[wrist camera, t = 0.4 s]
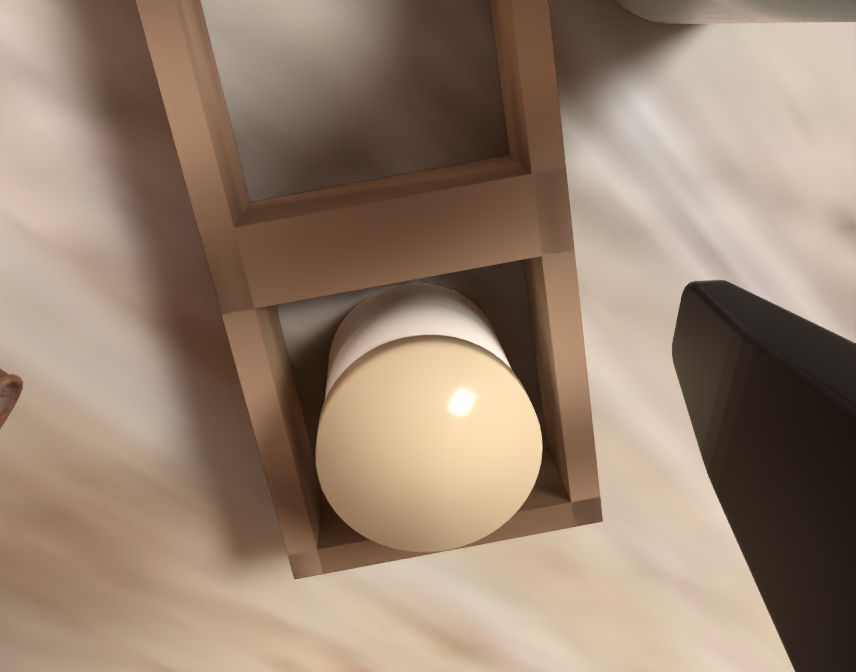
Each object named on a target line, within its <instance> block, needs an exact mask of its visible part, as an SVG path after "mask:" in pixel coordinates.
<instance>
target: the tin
mask: <svg viewBox="0 0 856 672" xmlns="http://www.w3.org/2000/svg"><path fill="white" fill-rule="evenodd" d="M22 389H23V381H22V379H21V378H20V377H18V376H17V375H13V374H11V375H9V374H8V373H6V372H4V371H3V370H1V369H0V429H1V427H2V425H3V424H4V422H5V421H6V420H7V417H8V416H9V414H10V412H11V411H12V409H13V407H14V406H15V404H16V402H17V400H18V398H19V396H20V394H21V391H22Z"/></svg>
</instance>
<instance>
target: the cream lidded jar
mask: <svg viewBox="0 0 856 672" xmlns="http://www.w3.org/2000/svg"><path fill="white" fill-rule="evenodd" d="M541 459H542V434H541V430H540V425H539V421H538V418H537V416H536V413H535V410H534V408H533V406H532V404H531V401H530V399H529V397H528V395H527V393H526V391H525V389H524V387H523V385H522V383H521V382H520V380H519V379H518V377H517V376H516V375H515V373H514V372H513V371H512V369H511V367H510V365H509V362H508V360H507V358H506V356H505V353H504V351H503V349H502V347H501V344H500V342H499V340H498V338H497V335H496V333H495V331H494V329H493V327H492V325H491V323H490V321H489V320H488V319H487V317H486V316H485V314H484V313H483V312H482V311H481V310H480V309H479V308H478V307H477V306H476V305H475V304H474V303H473V302H471V301H470V300H469V299H468V298H466V297H465V296H463V295H461V294H459V293H458V292H456V291H453V290H451V289H448V288H446V287H442V286H438V285H434V284H426V283H408V284H400V285H396V286H392V287H388V288H385V289H383V290H380V291H378V292H376V293H374V294H372V295H370V296H369V297H367V298H366V299H364V300H363V301H361V302H360V303H359V304H358V305H356V306H355V307H354V308H353V309H352V310H351V311H350V312H349V313H348V315H347V316H346V317H345V318H344V320H343V321H342V323H341V324H340V326H339V328H338V329H337V331H336V334H335V336H334V338H333V341H332V345H331V348H330V354H329V363H328V373H327V384H326V394H325V402H324V404H323V407H322V410H321V414H320V417H319V425H318V433H317V443H316V468H317V474H318V478H319V481H320V484H321V487H322V490H323V492H324V494H325V496H326V498H327V500H328V502H329V503H330V505H331V506H332V508H333V509H334V511H335V512H336V513H337V514H338V515H339V516H340V518H341V519H342V520H343V521H344V522H345V523H346V524H348V525H349V526H350V527H351V528H352V529H354V530H355V531H356V532H358V533H360V534H361V535H363V536H364V537H366V538H368V539H370V540H372V541H374V542H376V543H378V544H381V545H384V546H387V547H390V548H394V549H399V550H404V551H413V552H436V551H444V550H450V549H454V548H458V547H462V546H465V545H467V544H470V543H473V542H475V541H477V540H479V539H481V538H483V537H485V536H487V535H489V534H490V533H492V532H494V531H495V530H497V529H498V528H500V527H501V526H502V525H503V524H504V523H506V522H507V521H508V520H509V519H510V518H511V517H512V516H513V515H514V514H515V513H516V512H517V511H518V510H519V509H520V507H521V506H522V505H523V503H524V502H525V500H526V499H527V498H528V496H529V494H530V492H531V490H532V488H533V487H534V484H535V481H536V479H537V476H538V473H539V469H540V465H541Z"/></svg>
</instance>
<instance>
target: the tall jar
mask: <svg viewBox="0 0 856 672" xmlns="http://www.w3.org/2000/svg"><path fill="white" fill-rule="evenodd" d="M615 1H616V2H617V3H618V4H619V5H621V6H622V7H623V8H625V9H626V10H627V11H629V12H631V13H633V14H635V15H636V16H638V17H640V18H643V19H646V20H649V21H652V22H658V23H663V24H719V23H800V22H856V0H615Z"/></svg>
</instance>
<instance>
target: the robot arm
mask: <svg viewBox="0 0 856 672" xmlns="http://www.w3.org/2000/svg"><path fill="white" fill-rule="evenodd" d="M672 357H673V363H674V367H675V370H676V373H677V377H678V380H679V383H680V387H681V390H682V393H683V396H684V400H685V403H686V406H687V410H688V413H689V416H690V419H691V423H692V426H693V429H694V433H695V436H696V439H697V442H698V446H699V449H700V452H701V456H702V459H703V461H704V464H705V467H706V470H707V473H708V476H709V478H710V481H711V483H712V486H713V488H714V490H715V493H716V495H717V497H718V500H719V502H720V504H721V506H722V509H723V511H724V513H725V515H726V517H727V520H728V522H729V524H730V526H731V529H732V531H733V533H734V535H735V538H736V540H737V542H738V544H739V547H740V549H741V551H742V553H743V556H744V558H745V560H746V562H747V565H748V567H749V569H750V571H751V574H752V576H753V578H754V580H755V583H756V585H757V587H758V589H759V592H760V594H761V596H762V598H763V601H764V603H765V605H766V607H767V610H768V612H769V614H770V616H771V619H772V621H773V623H774V625H775V628H776V630H777V632H778V634H779V637H780V639H781V641H782V643H783V645H784V648H785V650H786V652H787V654H788V657H789V659H790V661H791V663H792V666H793V668H794V670H795V672H856V343H854V342H852V341H850V340H848V339H846V338H843V337H841V336H839V335H837V334H835V333H833V332H831V331H829V330H827V329H825V328H823V327H821V326H819V325H817V324H815V323H812V322H810V321H808V320H806V319H804V318H802V317H800V316H798V315H796V314H794V313H792V312H790V311H788V310H786V309H784V308H781V307H779V306H777V305H775V304H773V303H771V302H769V301H767V300H765V299H763V298H761V297H759V296H757V295H755V294H752V293H750V292H748V291H746V290H744V289H742V288H740V287H738V286H736V285H734V284H732V283H730V282H728V281H725V280H710V281H694V282H690V283H689V284H688V285H687V286H686V287H685V289H684V291H683V293H682V297H681V302H680V307H679V312H678V317H677V322H676V327H675V332H674V337H673V343H672Z"/></svg>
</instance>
